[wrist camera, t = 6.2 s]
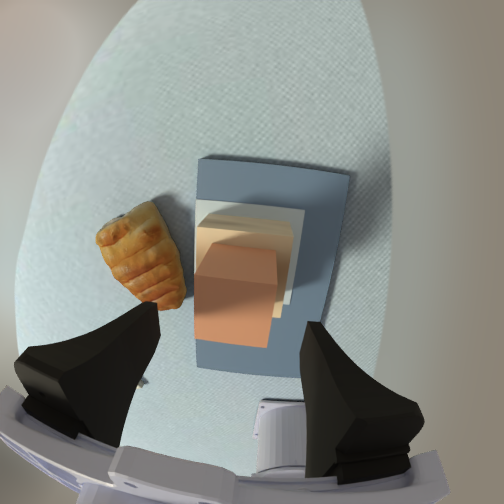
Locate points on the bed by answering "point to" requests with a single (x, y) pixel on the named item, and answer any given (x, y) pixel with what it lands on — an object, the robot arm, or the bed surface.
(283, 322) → the board
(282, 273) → the base block
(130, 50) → the bed surface
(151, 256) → the pastry
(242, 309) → the top block
